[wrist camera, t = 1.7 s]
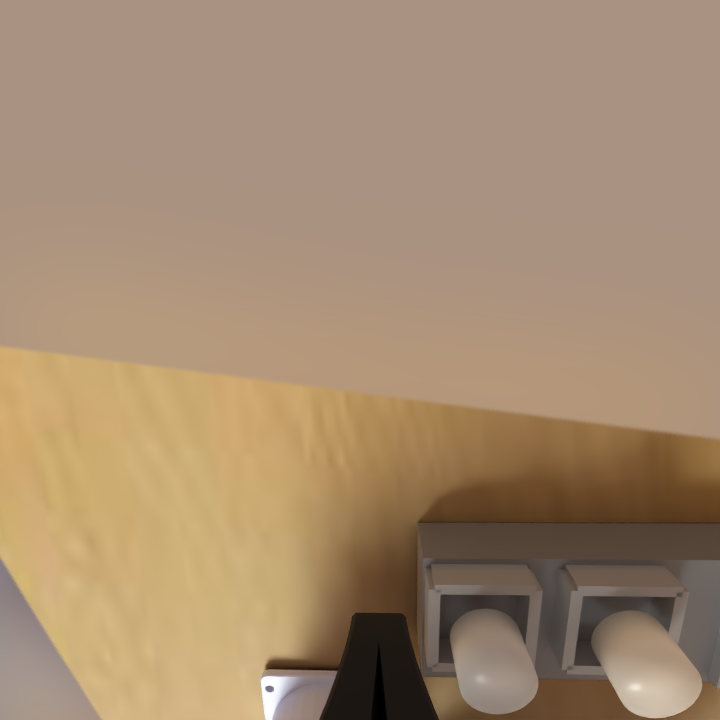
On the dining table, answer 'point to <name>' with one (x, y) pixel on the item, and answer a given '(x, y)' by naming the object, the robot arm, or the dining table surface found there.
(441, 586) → the control panel
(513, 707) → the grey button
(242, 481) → the dining table surface
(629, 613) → the cream button
